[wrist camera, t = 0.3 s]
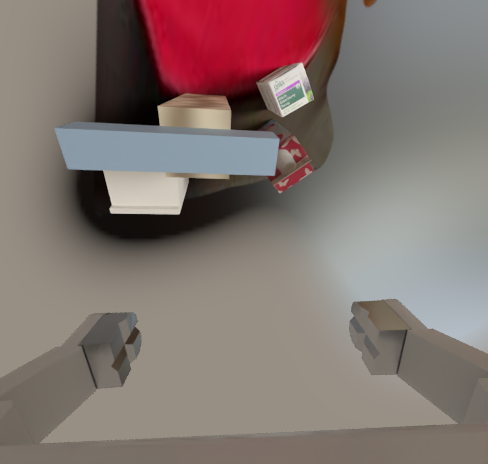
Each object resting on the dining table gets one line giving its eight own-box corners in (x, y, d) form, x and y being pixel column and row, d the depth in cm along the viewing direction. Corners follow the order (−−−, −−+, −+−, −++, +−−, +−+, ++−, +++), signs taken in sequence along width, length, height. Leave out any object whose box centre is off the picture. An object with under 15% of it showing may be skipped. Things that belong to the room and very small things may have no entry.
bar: (85, 158, 28) (67, 169, 25) (75, 121, 26) (53, 127, 23) (268, 165, 31) (274, 175, 27) (272, 131, 29) (279, 138, 25)
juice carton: (246, 138, 54) (261, 169, 35) (272, 118, 52) (301, 141, 33) (262, 161, 57) (284, 202, 38) (287, 144, 55) (321, 178, 37)
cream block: (136, 180, 57) (110, 213, 43) (129, 140, 52) (97, 163, 38) (188, 182, 58) (179, 214, 44) (186, 143, 53) (175, 165, 39)
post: (187, 135, 52) (165, 177, 30) (185, 93, 48) (157, 106, 26) (224, 137, 53) (229, 178, 31) (225, 96, 49) (231, 110, 27)
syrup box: (267, 110, 51) (282, 120, 39) (254, 81, 48) (267, 82, 36) (292, 95, 50) (315, 101, 38) (280, 65, 47) (302, 60, 35)
